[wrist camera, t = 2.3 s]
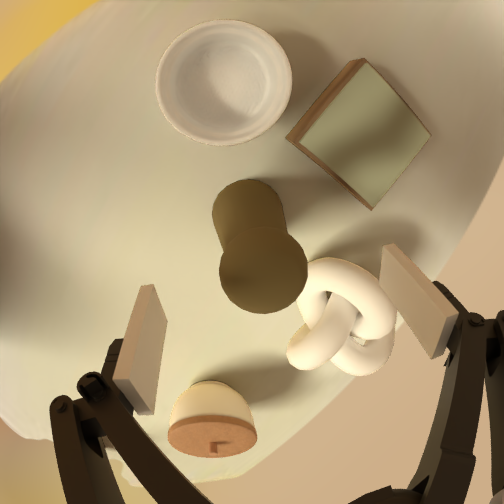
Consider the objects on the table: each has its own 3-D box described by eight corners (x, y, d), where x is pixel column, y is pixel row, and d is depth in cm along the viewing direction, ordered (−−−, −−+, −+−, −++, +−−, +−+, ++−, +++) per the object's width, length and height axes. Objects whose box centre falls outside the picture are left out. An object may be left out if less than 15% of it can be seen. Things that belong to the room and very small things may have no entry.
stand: (285, 138, 23) (294, 143, 21) (350, 60, 20) (366, 57, 18) (358, 200, 26) (373, 212, 24) (415, 130, 24) (434, 136, 21)
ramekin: (225, 160, 24) (227, 172, 20) (142, 92, 20) (127, 91, 16) (302, 84, 21) (319, 81, 17) (220, 12, 18) (222, -5, 14)
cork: (267, 252, 28) (295, 336, 18) (203, 234, 26) (199, 318, 17) (292, 192, 25) (340, 254, 16) (225, 170, 24) (233, 223, 14)
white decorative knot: (263, 253, 28) (282, 316, 20) (381, 226, 28) (431, 274, 20) (280, 338, 34) (296, 402, 26) (376, 311, 34) (410, 365, 26)
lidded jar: (240, 362, 35) (249, 428, 27) (256, 406, 40) (266, 461, 32) (157, 375, 35) (151, 439, 26) (186, 416, 40) (186, 471, 32)
